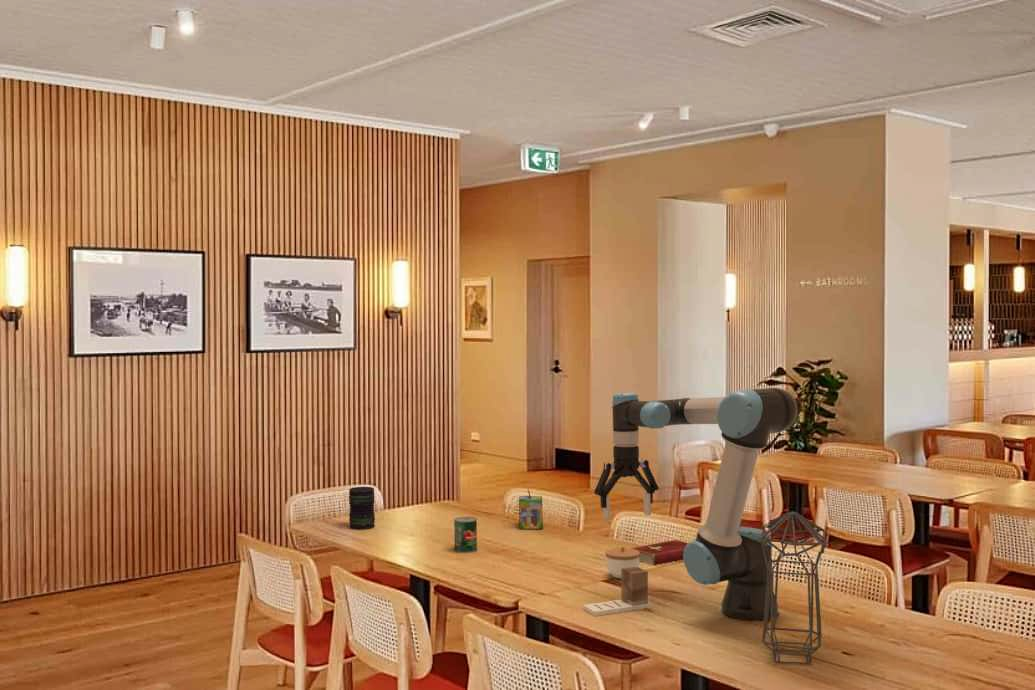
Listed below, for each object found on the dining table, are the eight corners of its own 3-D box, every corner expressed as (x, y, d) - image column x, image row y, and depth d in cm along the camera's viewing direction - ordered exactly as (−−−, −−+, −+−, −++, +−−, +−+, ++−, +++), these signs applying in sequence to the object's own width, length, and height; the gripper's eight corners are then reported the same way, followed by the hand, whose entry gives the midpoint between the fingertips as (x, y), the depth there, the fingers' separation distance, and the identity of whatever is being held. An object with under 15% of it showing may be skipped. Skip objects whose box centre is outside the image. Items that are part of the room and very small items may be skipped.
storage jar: (353, 524, 391) (353, 486, 391) (378, 524, 390) (377, 486, 390) (346, 529, 382) (345, 491, 381) (370, 530, 380) (370, 491, 380)
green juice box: (543, 529, 378) (542, 491, 378) (519, 529, 378) (518, 491, 378) (542, 524, 387) (542, 486, 387) (519, 524, 388) (518, 487, 387)
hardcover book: (700, 557, 335) (700, 545, 335) (653, 567, 323) (653, 554, 323) (676, 550, 345) (675, 538, 344) (629, 559, 333) (629, 547, 333)
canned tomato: (472, 553, 341) (471, 522, 341) (451, 552, 344) (450, 520, 344) (480, 548, 349) (480, 517, 349) (459, 546, 352) (459, 516, 351)
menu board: (651, 607, 277) (651, 603, 277) (594, 616, 270) (594, 611, 270) (638, 601, 283) (638, 596, 283) (583, 609, 276) (583, 604, 276)
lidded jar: (638, 582, 304) (638, 551, 303) (603, 580, 306) (603, 550, 305) (641, 573, 314) (641, 543, 314) (607, 571, 316) (607, 542, 316)
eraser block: (647, 603, 277) (647, 571, 277) (632, 605, 275) (632, 573, 275) (636, 597, 283) (636, 566, 282) (621, 600, 281) (621, 568, 280)
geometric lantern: (760, 644, 246) (760, 504, 244) (827, 650, 241) (827, 507, 240) (756, 666, 231) (756, 516, 229) (827, 672, 226) (827, 520, 225)
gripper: (656, 441, 301) (657, 510, 301) (582, 446, 291) (583, 518, 292) (669, 443, 294) (670, 515, 294) (593, 449, 284) (595, 522, 285)
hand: (627, 516), depth 293 cm, fingers open, 13 cm apart
